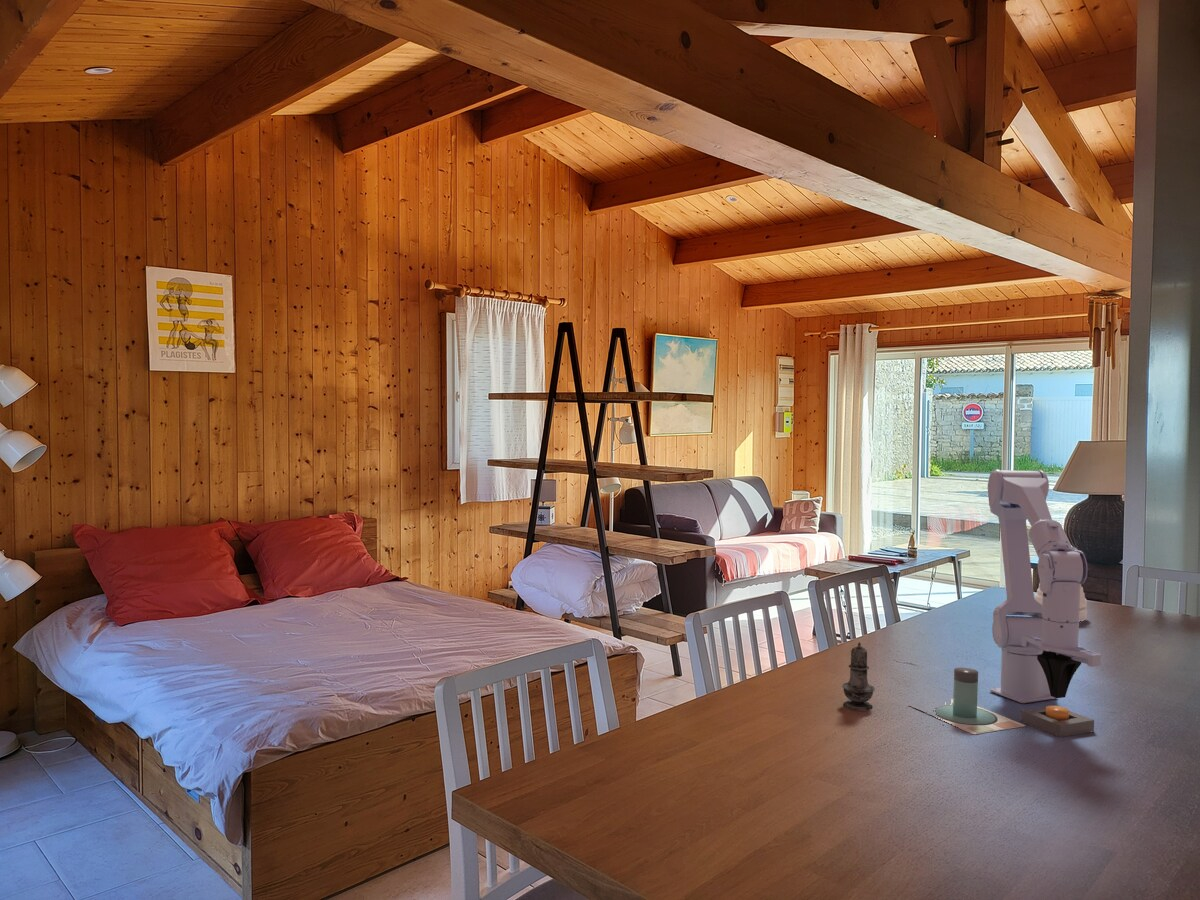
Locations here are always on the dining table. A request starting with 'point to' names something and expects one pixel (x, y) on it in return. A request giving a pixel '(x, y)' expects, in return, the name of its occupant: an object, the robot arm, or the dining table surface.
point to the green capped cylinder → (965, 692)
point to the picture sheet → (976, 720)
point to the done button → (1057, 712)
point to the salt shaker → (858, 681)
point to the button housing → (1057, 722)
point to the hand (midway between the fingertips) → (1057, 696)
